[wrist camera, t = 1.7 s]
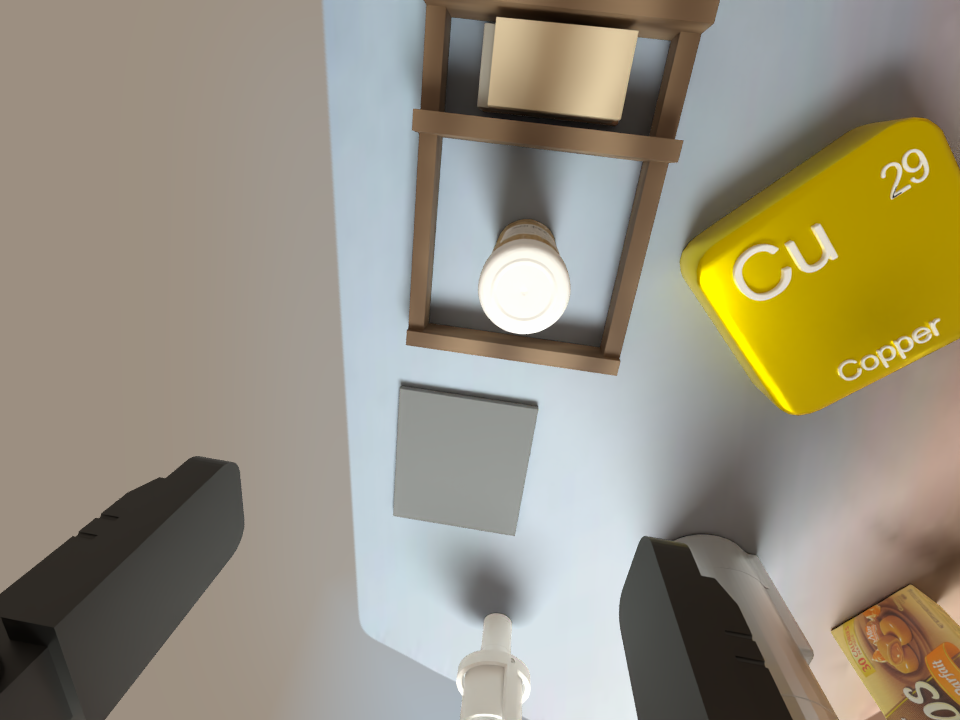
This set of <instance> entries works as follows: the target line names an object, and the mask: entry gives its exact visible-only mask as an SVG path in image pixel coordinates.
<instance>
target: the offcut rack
mask: <svg viewBox="0 0 960 720" xmlns="http://www.w3.org/2000/svg"><path fill="white" fill-rule="evenodd" d="M424 1H425V3H426V5H427V6H426V24H425V41H424V59H423V77H422V95H421V109H413V123H412V130H413V131H415V132H418V133H419V149H418V167H417V185H416V203H415V221H414V239H413V256H412V274H411V292H410V310H409V328H408V330H407V337H406V345H410V346H416V347H423V348H430V349H437V350H444V351H451V352H458V353H464V354H471V355H478V356H485V357H492V358H499V359H506V360H512V361H519V362H526V363H533V364H540V365H547V366H554V367H560V368H567V369H574V370H581V371H588V372H595V373H602V374H608V375H615V376H617V373H618V369H619V365H620V359H619V358H620V354H621V350H622V346H623V342H624V338H625V334H626V330H627V326H628V322H629V318H630V314H631V310H632V306H633V302H634V298H635V295H636V291H637V287H638V283H639V279H640V275H641V271H642V267H643V263H644V259H645V255H646V251H647V247H648V243H649V239H650V235H651V231H652V227H653V223H654V219H655V215H656V211H657V207H658V203H659V199H660V195H661V192H662V188H663V184H664V180H665V176H666V172H667V168H668V164H669V163H675V162H678V160H679V156H680V152H681V148H682V144H683V140H675V136H676V132H677V128H678V124H679V120H680V116H681V112H682V108H683V104H684V100H685V96H686V93H687V89H688V85H689V81H690V77H691V73H692V69H693V65H694V61H695V57H696V53H697V49H698V45H699V41H700V37H701V34H702V33H703V32H704V31H705V30H707V29H708V28H709V27H710V26H711V25H713V24H714V21H715V17H716V13H717V9H718V6H719V2H720V0H424ZM451 17H454V18H463V19H473V20H482V21H492V22H496V17H503V18H513V19H523V20H533V21H543V22H554V23H564V24H574V25H584V26H594V27H604V28H615V29H625V30H635V31H639V32H638V37H642V38H651V39H660V40H670V41H671V43H670V47H669V52H668V56H667V60H666V65H665V69H664V73H663V78H662V82H661V86H660V91H659V95H658V99H657V103H656V108H655V112H654V116H653V121H652V125H651V129H650V134H649V136H641V135H633V134H624V133H616V132H607V131H599V130H590V129H582V128H573V127H565V126H556V125H548V124H539V123H531V122H522V121H514V120H505V119H497V118H489V117H480V116H472V115H463V114H455V113H446V112H444V111H445V98H446V84H447V71H448V57H449V43H450V30H451ZM443 137H445V138H453V139H461V140H470V141H478V142H486V143H495V144H503V145H511V146H519V147H528V148H536V149H544V150H553V151H561V152H569V153H577V154H586V155H594V156H602V157H610V158H619V159H627V160H635V161H643V164H642V168H641V172H640V177H639V181H638V185H637V190H636V194H635V198H634V203H633V207H632V211H631V215H630V220H629V224H628V228H627V233H626V237H625V241H624V246H623V250H622V254H621V259H620V263H619V267H618V271H617V276H616V280H615V284H614V289H613V293H612V297H611V302H610V306H609V310H608V315H607V319H606V323H605V328H604V332H603V336H602V340H601V345H600V347H594V346H587V345H580V344H573V343H566V342H559V341H552V340H545V339H538V338H531V337H524V336H517V335H510V334H503V333H496V332H489V331H482V330H475V329H468V328H461V327H454V326H447V325H440V324H433V323H429V314H430V301H431V287H432V274H433V260H434V247H435V233H436V220H437V206H438V192H439V179H440V165H441V152H442V138H443Z"/></svg>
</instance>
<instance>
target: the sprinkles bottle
mask: <svg viewBox="0 0 960 720" xmlns="http://www.w3.org/2000/svg"><path fill="white" fill-rule="evenodd" d="M478 295H479V300H480V303H481V306H482V308H483V310H484V312H485V314H486V315H487V316H488V318H489V319H490V320H491V321H492V322H493V323H494V324H496V325H497V326H498V327H500V328H502V329H504V330H506V331H509V332H512V333H517V334H531V333H536V332H539V331H542V330H544V329H546V328H548V327H549V326H551V325H552V324H553V323H555V322H556V321H557V320H558V319H559V318H560V316H561V315H562V314H563V312H564V311H565V309H566V307H567V304H568V301H569V298H570V278H569V274H568V271H567V268H566V265H565V263H564V261H563V260H562V258H561V257H560V255H559V252H558V249H557V246H556V243H555V240H554V237H553V235H552V233H551V231H550V230H549V229H548V228H547V227H546V226H545V225H544V224H542V223H540V222H538V221H535V220H532V219H522V220H517V221H515V222H513V223H510V224H509V225H508V226H507V227H505V228H504V230H503V231H502V232H501V233H500V235H499V238H498V240H497V243H496V245H495V247H494V249H493V252H492V254H491V255H490V256H489V258H488V259H487V261H486V262H485V264H484V266H483V269H482V272H481V275H480V279H479V284H478Z"/></svg>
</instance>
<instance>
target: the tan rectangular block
mask: <svg viewBox="0 0 960 720" xmlns="http://www.w3.org/2000/svg"><path fill="white" fill-rule="evenodd" d="M638 32H639V31H635V30H625V29H615V28H604V27H594V26H584V25H574V24H564V23H554V22H543V21H533V20H523V19H513V18H503V17H496V24H491V23H485V26H484V37H483V48H482V59H481V69H480V80H479V91H478V102H477V107H478V108H479V109H481V110H482V111H483V112H491V113H501V114H510V115H519V116H528V117H537V118H546V119H555V120H564V121H573V122H582V123H591V124H600V125H610V126H616V125H618V121H619V120H620V119H621V116H622V111H623V106H624V101H625V96H626V91H627V86H628V81H629V76H630V71H631V66H632V61H633V56H634V51H635V46H636V42H637V37H638Z"/></svg>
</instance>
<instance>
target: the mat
mask: <svg viewBox="0 0 960 720" xmlns="http://www.w3.org/2000/svg"><path fill="white" fill-rule="evenodd" d="M537 413H538V406H532V405H526V404H519V403H513V402H506V401H499V400H493V399H486V398H479V397H473V396H466V395H459V394H453V393H446V392H440V391H433V390H426V389H420V388H413V387H406V386H401V387H400V393H399V412H398V432H397V452H396V472H395V491H394V511H393V516H397V517H403V518H409V519H415V520H421V521H427V522H433V523H439V524H445V525H451V526H457V527H463V528H469V529H475V530H481V531H487V532H493V533H499V534H505V535H511V536H515V531H516V526H517V521H518V515H519V510H520V505H521V499H522V494H523V488H524V483H525V478H526V472H527V467H528V462H529V456H530V451H531V445H532V440H533V435H534V429H535V424H536V419H537Z"/></svg>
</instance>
